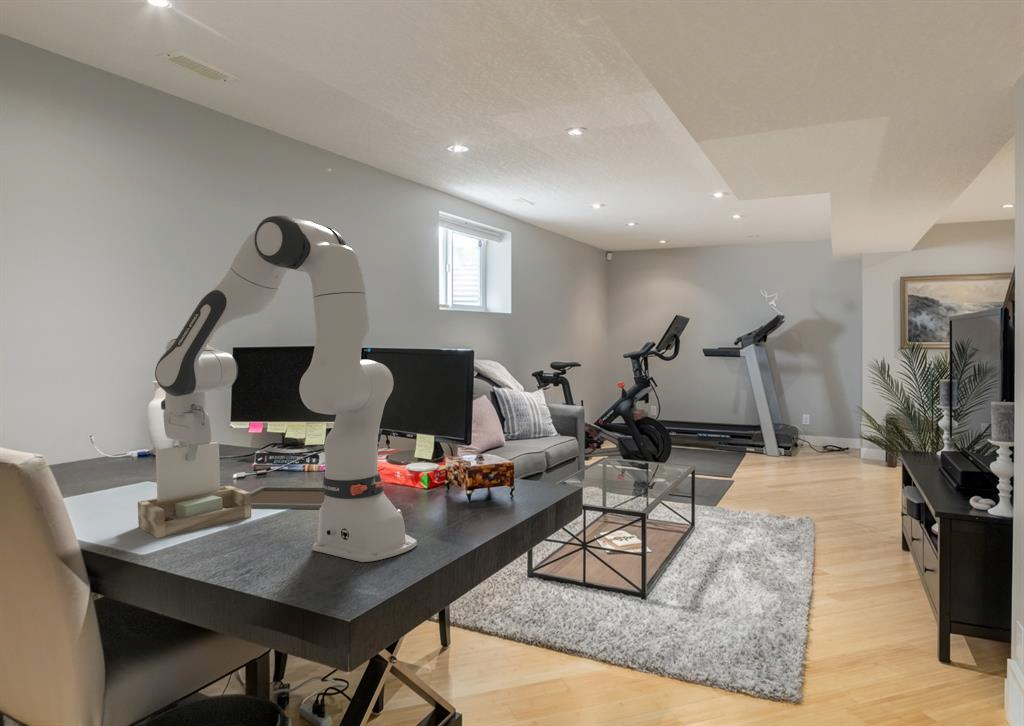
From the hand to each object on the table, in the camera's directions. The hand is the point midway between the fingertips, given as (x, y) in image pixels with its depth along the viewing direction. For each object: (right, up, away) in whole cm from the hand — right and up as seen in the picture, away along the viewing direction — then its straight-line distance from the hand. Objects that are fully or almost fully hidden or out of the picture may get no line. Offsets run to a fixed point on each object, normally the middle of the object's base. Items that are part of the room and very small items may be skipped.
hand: (188, 459), depth 150 cm
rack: (+3, -15, -2) cm, 15 cm away
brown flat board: (+17, -15, +19) cm, 29 cm away
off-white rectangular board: (0, -15, +1) cm, 15 cm away
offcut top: (+4, -12, -3) cm, 13 cm away
